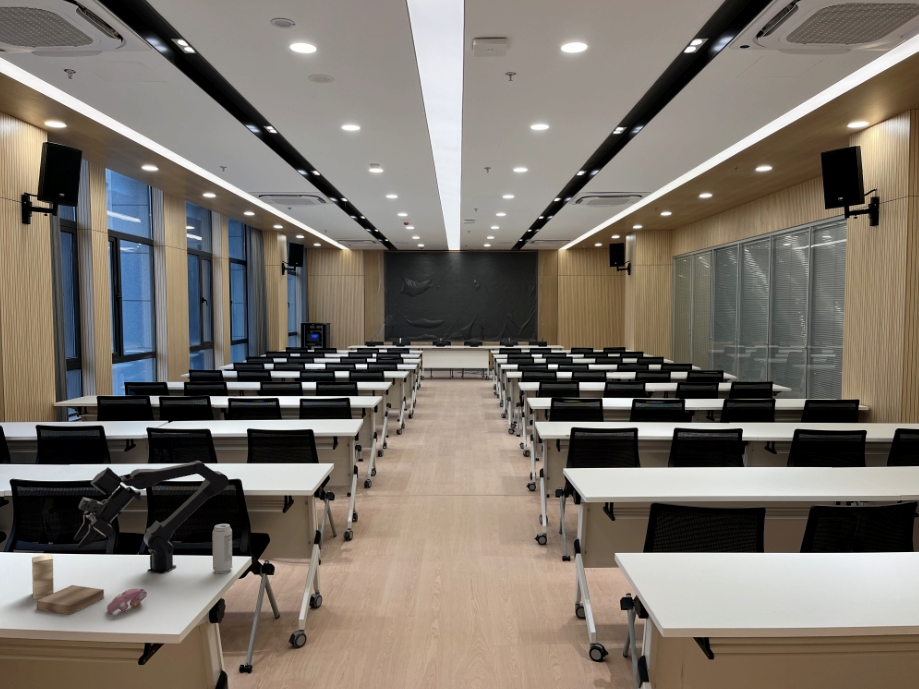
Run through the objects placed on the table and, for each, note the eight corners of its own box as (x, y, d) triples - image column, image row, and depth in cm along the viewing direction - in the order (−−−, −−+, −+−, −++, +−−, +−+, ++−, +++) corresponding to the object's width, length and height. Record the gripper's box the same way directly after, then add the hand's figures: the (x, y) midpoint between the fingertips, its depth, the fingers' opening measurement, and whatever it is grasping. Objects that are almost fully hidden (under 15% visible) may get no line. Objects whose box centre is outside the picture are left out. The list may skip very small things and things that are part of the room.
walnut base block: (103, 597, 198) (103, 589, 198) (69, 614, 187) (69, 605, 187) (72, 593, 202) (72, 584, 202) (36, 609, 190) (36, 600, 190)
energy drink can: (219, 566, 224) (218, 522, 223) (235, 568, 222) (235, 523, 222) (209, 573, 218) (208, 527, 217) (226, 574, 216) (225, 529, 216)
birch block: (51, 589, 205) (51, 554, 204) (53, 594, 201) (52, 558, 200) (32, 593, 202) (31, 557, 201) (34, 598, 198) (33, 562, 197)
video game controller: (112, 620, 186) (118, 601, 184) (104, 610, 188) (110, 590, 186) (145, 608, 194) (151, 589, 193) (137, 598, 197) (143, 579, 195)
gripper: (91, 482, 216) (52, 521, 210) (100, 493, 201) (58, 536, 195) (118, 502, 221) (80, 541, 215) (129, 515, 206) (89, 557, 200)
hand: (76, 543), depth 206 cm, fingers open, 9 cm apart
